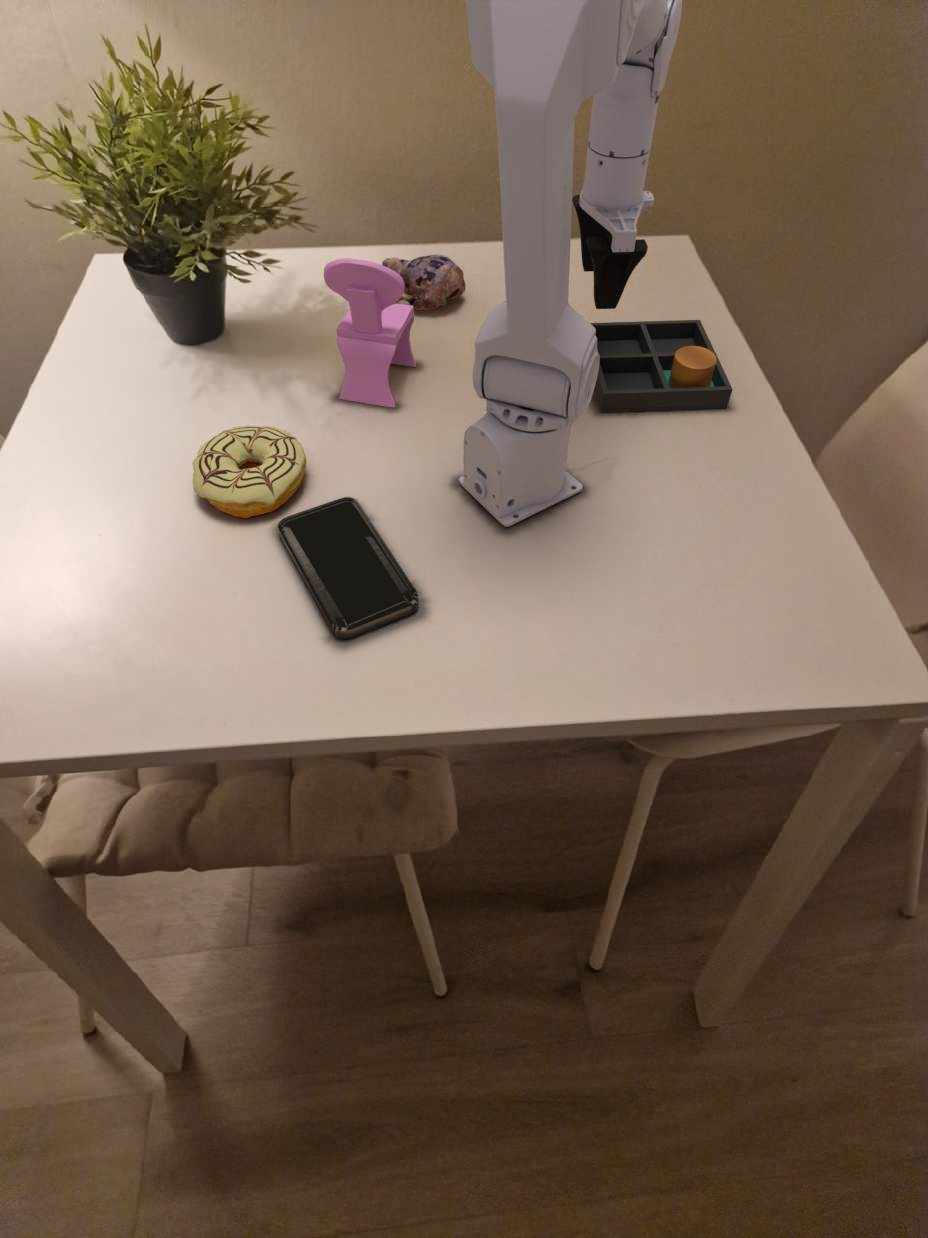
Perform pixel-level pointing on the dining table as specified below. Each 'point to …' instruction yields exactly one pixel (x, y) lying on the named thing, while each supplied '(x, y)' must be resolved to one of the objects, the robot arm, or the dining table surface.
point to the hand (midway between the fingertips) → (599, 287)
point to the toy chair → (370, 328)
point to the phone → (347, 567)
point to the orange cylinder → (692, 367)
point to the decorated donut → (249, 470)
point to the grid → (652, 367)
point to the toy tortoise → (428, 280)
